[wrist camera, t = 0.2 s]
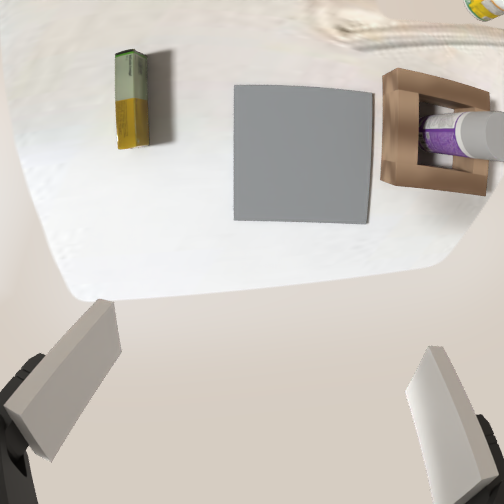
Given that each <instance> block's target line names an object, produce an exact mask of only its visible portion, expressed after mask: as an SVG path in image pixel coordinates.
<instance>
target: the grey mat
mask: <svg viewBox="0 0 504 504" xmlns="http://www.w3.org/2000/svg"><path fill="white" fill-rule="evenodd" d="M371 145H372V93H368V92H361V91H352V90H343V89H332V88H320V87H306V86H284V85H234V220H238V221H285V222H318V223H345V224H366V221H367V210H368V198H369V184H370V168H371Z"/></svg>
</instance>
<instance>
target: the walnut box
mask: <svg viewBox="0 0 504 504" xmlns="http://www.w3.org/2000/svg"><path fill="white" fill-rule="evenodd" d="M382 79H383V132H382V159H381V177H380V180H382V181H384V182H387V183H389V184H392V185H395V186H404V187H414V188H424V189H433V190H441V191H450V192H458V193H465V194H472V195H480V196H486V188H487V177H488V165H489V160H484V159H476V158H468V157H461V156H454V155H453V167H452V169H450V168H444V167H437V166H430V165H423V164H417V159H418V135H419V102H424V103H429V104H434V105H438V106H443V107H447V108H451V109H454V113H458V112H478V111H490V96H489V92H487V91H484V90H481V89H478V88H475V87H472V86H468V85H465V84H462V83H458V82H455V81H451V80H448V79H444V78H440V77H436V76H432V75H428V74H424V73H420V72H415V71H411V70H406V69H401V68H396V69H394V70H392V71H391V72H389V73H387V74H385V75H383V76H382Z"/></svg>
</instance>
